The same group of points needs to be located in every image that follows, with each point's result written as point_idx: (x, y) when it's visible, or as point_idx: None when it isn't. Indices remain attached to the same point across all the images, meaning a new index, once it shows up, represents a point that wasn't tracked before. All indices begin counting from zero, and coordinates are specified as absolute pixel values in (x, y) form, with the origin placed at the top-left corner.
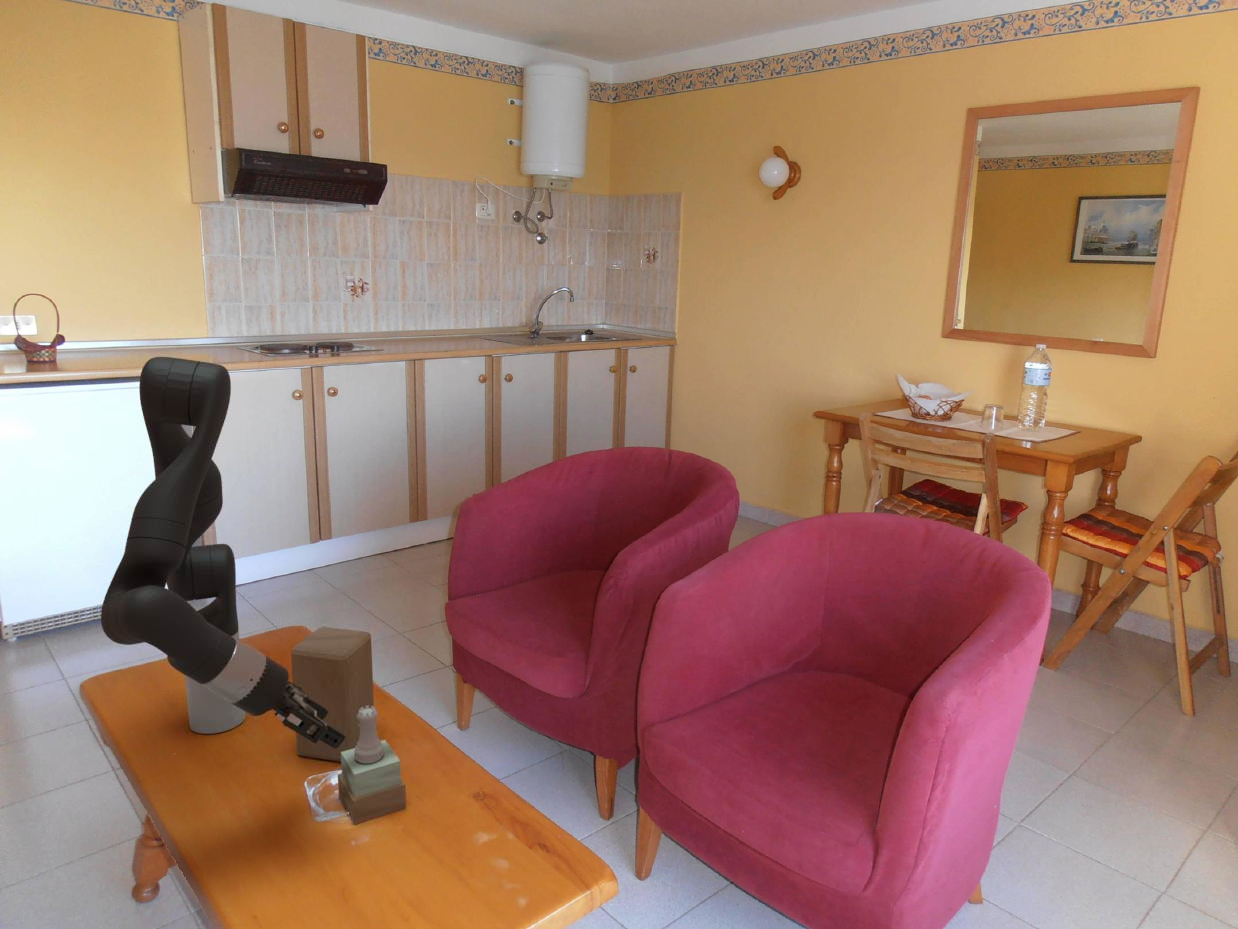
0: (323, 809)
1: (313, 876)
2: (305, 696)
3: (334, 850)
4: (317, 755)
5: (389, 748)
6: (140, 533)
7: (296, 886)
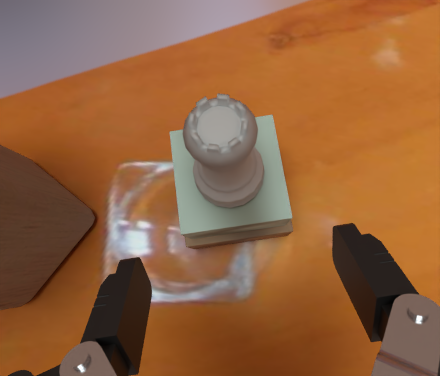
0: (219, 280)
1: None
2: (106, 372)
3: None
4: (54, 269)
5: None
6: None
7: None
